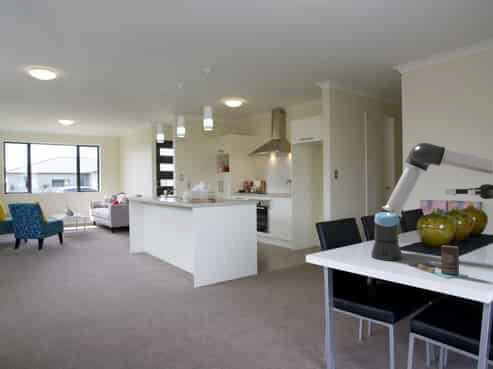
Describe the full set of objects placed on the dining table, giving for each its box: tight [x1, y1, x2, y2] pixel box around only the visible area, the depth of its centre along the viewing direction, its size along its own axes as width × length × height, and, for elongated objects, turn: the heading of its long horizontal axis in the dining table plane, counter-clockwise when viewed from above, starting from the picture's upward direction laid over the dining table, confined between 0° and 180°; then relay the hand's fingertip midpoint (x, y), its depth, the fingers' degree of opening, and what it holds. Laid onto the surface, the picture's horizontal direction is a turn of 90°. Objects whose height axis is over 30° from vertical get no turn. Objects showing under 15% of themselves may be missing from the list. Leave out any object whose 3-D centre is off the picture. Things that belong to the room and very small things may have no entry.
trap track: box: [408, 262, 442, 274], centre depth 159 cm, size 15×11×2 cm
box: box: [440, 244, 460, 276], centre depth 148 cm, size 6×4×12 cm
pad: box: [432, 271, 469, 279], centre depth 148 cm, size 8×11×1 cm
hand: (456, 192), depth 165 cm, fingers open, 13 cm apart
